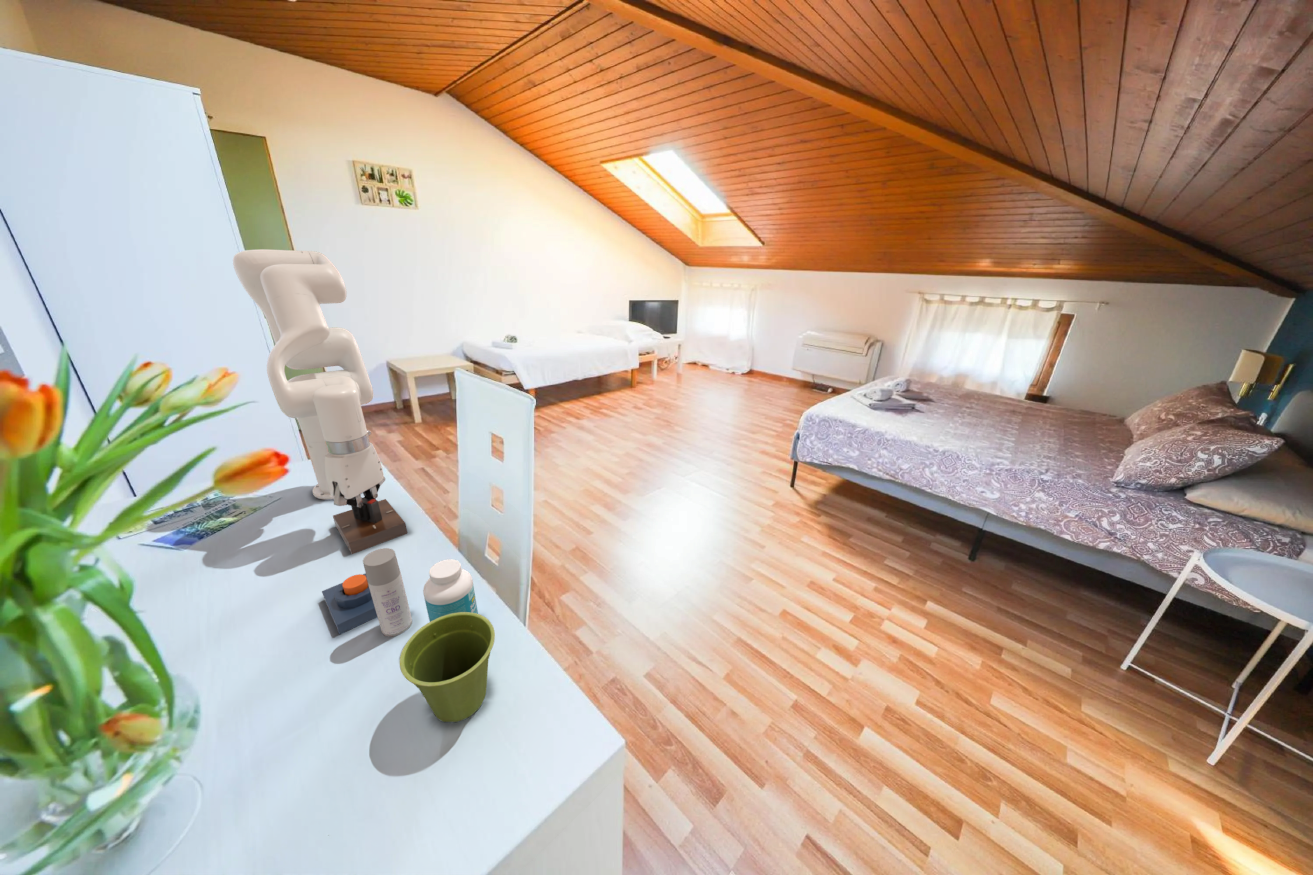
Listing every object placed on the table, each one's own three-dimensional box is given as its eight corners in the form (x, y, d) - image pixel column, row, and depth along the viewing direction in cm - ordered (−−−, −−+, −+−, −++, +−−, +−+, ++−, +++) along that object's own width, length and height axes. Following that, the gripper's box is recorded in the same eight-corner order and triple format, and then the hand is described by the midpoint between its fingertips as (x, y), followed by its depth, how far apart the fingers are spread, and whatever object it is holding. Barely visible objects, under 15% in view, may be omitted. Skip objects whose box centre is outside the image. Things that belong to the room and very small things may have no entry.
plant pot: (395, 722, 60) (377, 665, 55) (458, 655, 70) (448, 602, 65) (462, 756, 56) (449, 698, 52) (519, 679, 66) (512, 626, 62)
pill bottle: (485, 633, 74) (476, 571, 69) (439, 655, 70) (425, 591, 64) (472, 607, 79) (462, 548, 74) (428, 626, 75) (414, 564, 70)
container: (393, 640, 72) (374, 569, 66) (375, 630, 74) (355, 560, 68) (418, 621, 76) (402, 552, 70) (400, 611, 78) (383, 544, 72)
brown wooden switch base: (335, 526, 100) (332, 514, 99) (388, 509, 107) (385, 498, 106) (352, 554, 91) (348, 542, 90) (407, 533, 99) (405, 522, 97)
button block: (324, 600, 79) (318, 583, 78) (379, 577, 85) (375, 561, 84) (339, 635, 72) (333, 617, 71) (398, 607, 79) (393, 590, 77)
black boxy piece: (354, 518, 98) (349, 499, 96) (361, 514, 100) (356, 495, 98) (376, 523, 97) (370, 503, 95) (382, 519, 98) (377, 499, 96)
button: (342, 588, 77) (339, 580, 77) (365, 578, 80) (363, 571, 79) (347, 598, 75) (345, 591, 75) (370, 588, 78) (368, 581, 77)
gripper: (365, 428, 99) (382, 496, 106) (297, 456, 84) (322, 533, 92) (393, 432, 97) (408, 501, 104) (327, 461, 83) (350, 539, 90)
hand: (367, 515), depth 98 cm, fingers closed on black boxy piece, 2 cm apart
